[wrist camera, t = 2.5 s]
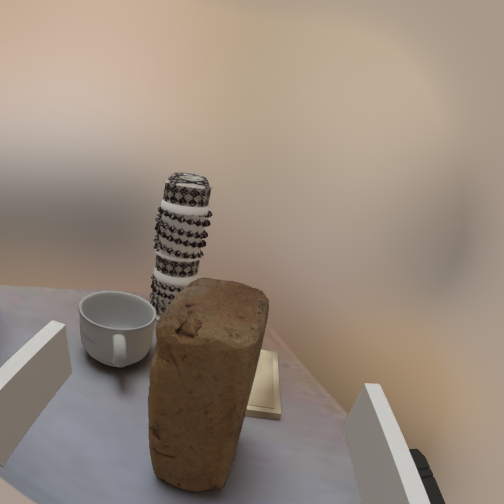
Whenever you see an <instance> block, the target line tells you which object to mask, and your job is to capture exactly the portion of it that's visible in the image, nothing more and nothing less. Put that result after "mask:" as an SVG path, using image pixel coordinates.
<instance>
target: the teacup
mask: <svg viewBox="0 0 504 504" xmlns="http://www.w3.org/2000/svg"><path fill="white" fill-rule="evenodd" d="M79 312H80V333H81V340H82V344H83V346H84V348H85V350H86V351H87V352H88V354H89V355H90V356H92V357H93V358H94V359H96V360H98V361H100V362H101V363H103V364H105V365H108V366H113V367H125V366H128V365H131V364H134V363H136V362H138V361H140V360H142V359H143V358H144V357H145V356H146V354H147V353H148V351H149V349H150V346H151V342H152V336H153V329H154V321H155V319H156V311H155V308H154V307H153V306H152V305H151V304H150V303H149V302H148V301H146V300H145V299H143V298H141V297H139V296H136V295H133V294H129V293H125V292H120V291H100V292H95V293H92V294H89V295H87V296H85V297H84V298H83V299H82V300H81V301H80V303H79Z"/></svg>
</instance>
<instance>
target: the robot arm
mask: <svg viewBox="0 0 504 504" xmlns="http://www.w3.org/2000/svg"><path fill="white" fill-rule="evenodd" d="M71 373H72V368H71V362H70V356H69V349H68V341H67V333H66V325H65V324H62V323H59V322H56V321H53V320H52V321H51V322H50V323H49V324H47V325H46V326H45V327H44V328H43V329H42V330H41V331H39V332H38V333H37V334H36V335H35V336H34V337H33V338H32V339H31V340H29V341H28V342H27V343H26V344H25V345H24V346H23V347H22V348H21V349H20V350H19V351H17V352H16V353H15V354H14V355H13V356H12V357H11V358H10V359H9V360H8V361H7V362H6V363H5V364H4V365H3V366H2V367H0V466H2V467H3V465H4V464H5V462H6V461H7V459H8V458H9V457H10V455H11V454H12V452H13V451H14V449H15V448H16V446H17V445H18V444H19V442H20V441H21V439H22V438H23V437H24V435H25V434H26V432H27V431H28V430H29V428H30V427H31V426H32V424H33V423H34V421H35V420H36V419H37V417H38V416H39V415H40V413H41V412H42V411H43V409H44V408H45V407H46V405H47V404H48V403H49V401H50V400H51V399H52V398H53V396H54V395H55V394H56V392H57V391H58V390H59V389H60V387H61V386H62V385H63V383H64V382H65V381H66V380H67V378H68V377H69V376H70V375H71ZM343 429H344V433H345V437H346V440H347V444H348V448H349V452H350V456H351V460H352V464H353V468H354V472H355V476H356V481H357V485H358V489H359V493H360V497H361V502H362V504H445V502H444V499H443V497H442V494H441V492H440V490H439V487H438V485H437V483H436V480H435V478H434V477H433V473H432V471H431V469H429V468H430V467H429V464H428V462H427V460H426V458H425V456H424V455H423V454H422V453H421V452H420V451H419V450H418V449H408V447H407V444H406V442H405V440H404V438H403V435H402V433H401V430H400V428H399V426H398V424H397V421H396V419H395V417H394V415H393V412H392V410H391V408H390V406H389V404H388V402H387V399H386V397H385V395H384V393H383V391H382V388H381V386H380V384H366V383H365V384H364V385H363V387H362V389H361V391H360V393H359V395H358V397H357V399H356V401H355V404H354V405H353V407H352V409H351V411H350V413H349V415H348V417H347V419H346V421H345V423H344V424H343Z"/></svg>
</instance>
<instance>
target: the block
mask: <svg viewBox="0 0 504 504" xmlns="http://www.w3.org/2000/svg"><path fill="white" fill-rule="evenodd" d="M268 302H269V300H268V298H267V297H266V295H265V294H264V293H263V292H262V291H260V290H259V289H256V288H252V287H250V286H247V285H245V284H242V283H238V282H233V281H224V280H216V279H211V278H200V279H196V280H194V281H192V282H191V283H189V284H188V285H187V286H186V287H185V288H184V289H183V290H181V291H180V292H179V293H178V294H177V295H176V296H175V298H174V299H173V300H172V301H171V303H170V305H169V307H168V309H167V310H165V311H164V312H163V314H162V315H161V317H160V318H159V321H158V324H157V327H156V338H157V343H156V346H155V353H154V356H153V359H152V361H151V367H150V376H149V378H150V386H149V396H148V411H149V447H150V455H151V461H152V466H153V470H154V473H155V475H156V476H157V477H159V478H161V479H162V480H164V481H166V482H168V483H170V484H172V485H174V486H176V487H179V488H182V489H185V490H189V491H193V492H195V491H199V492H201V491H204V490H212V489H219V488H221V487H222V486H223V485H224V484H225V482H226V479H227V477H228V475H229V472H230V468H231V465H232V462H233V460H234V456H235V452H236V448H237V444H238V440H239V436H240V432H241V429H242V425H243V421H244V417H245V413H246V409H247V405H248V401H249V397H250V393H251V390H252V386H253V382H254V378H255V374H256V369H257V365H258V361H259V357H260V352H261V347H262V342H263V337H264V333H265V328H266V323H267V318H268V309H269V304H268Z"/></svg>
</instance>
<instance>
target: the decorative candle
mask: <svg viewBox="0 0 504 504" xmlns="http://www.w3.org/2000/svg"><path fill="white" fill-rule="evenodd" d="M164 182H166V183H165V190H164V198H163V199H162V203H161V207H160V208H158V211H159V212H160V214H158V215H157V218H156V221H157V222H158V223H157V224H156V226H155V230H156V232H157V235H156V236H155V237H156V238H155V239H154V241H155V242H156V244H155V246H154V248H155V249H154V251H155V252H156V254H157V256H156V264H155V267H154V274H153V276H152V277H151V279H152V285H151V288H152V292H151V294H150V298H151V300H150V304H151V305H152V306H153V307H154V308H155V311H156V320H157V321H159V318H160V317H161V315H162V314H163V312H164V311H165V310H167V309H168V307H169V305H170V303H171V301H172V300H173V299H174V298H175V296H176V295H177V294H178V293H179V292H180V291H181V290H183V289H184V288H185V287H186V286H187V285H188V284H189V283H191V282H192V281H194V280H196V279H198V274H199V270H198V267H199V260H200V259H201V258H202V257H203V252H202V251H201V250H200V249H201V247H204V246H206V242H205V241H204V240H202V238H206V237H207V236H208V234H207V232H206V231H205V230H204V231H203V229H204V227H205V226H206V227H207V226H210V221H209V220H205V218H206V217H207V218H209V217H211V216H212V213H211V212H210V211H208V210H209V205H208V204H209V198H210V192H211V189H212V188H213V187H211V186H210V185H209V183H208V180H207V179H206V177H204V176H200V175H195V174H189V173H173V174H172V175H171V176H170V177H169V178H168V180H164ZM161 208H162V209H161ZM206 215H207V216H206ZM160 219H161V220H160Z"/></svg>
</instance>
